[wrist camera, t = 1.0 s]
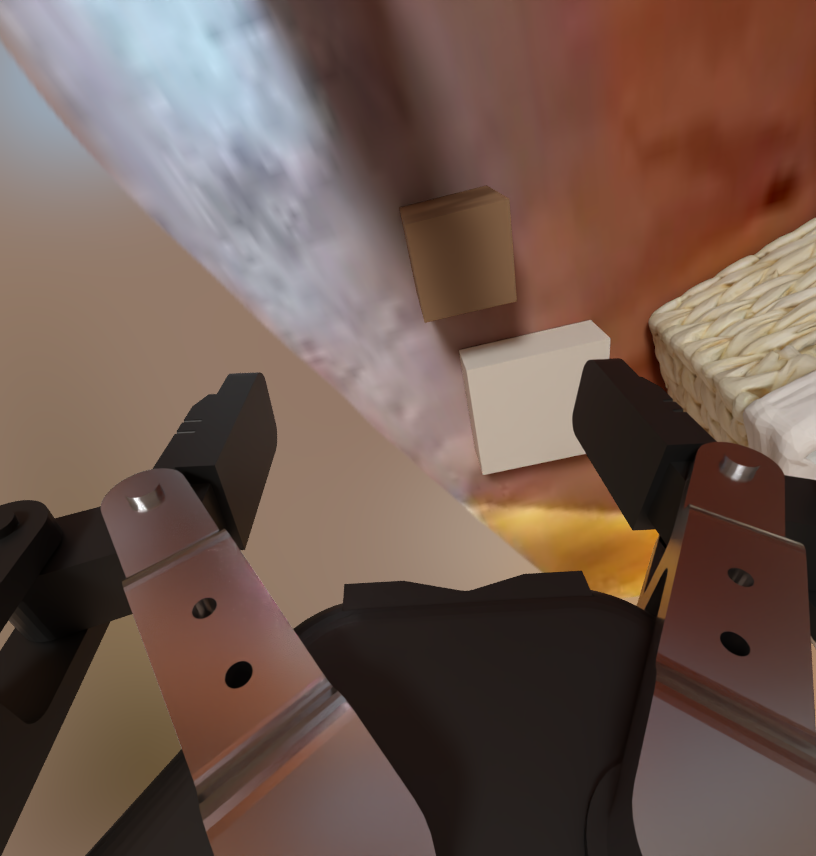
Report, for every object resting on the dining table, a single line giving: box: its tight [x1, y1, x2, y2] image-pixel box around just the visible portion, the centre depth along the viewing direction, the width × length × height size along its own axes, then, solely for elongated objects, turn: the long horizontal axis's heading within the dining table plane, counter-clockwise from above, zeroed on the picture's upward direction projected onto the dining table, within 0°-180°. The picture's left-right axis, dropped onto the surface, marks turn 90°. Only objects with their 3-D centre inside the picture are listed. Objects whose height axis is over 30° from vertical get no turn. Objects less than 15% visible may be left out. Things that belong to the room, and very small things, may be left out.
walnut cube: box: [399, 186, 517, 323], centre depth 24 cm, size 5×5×5 cm
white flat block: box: [459, 320, 610, 475], centre depth 31 cm, size 9×9×3 cm
